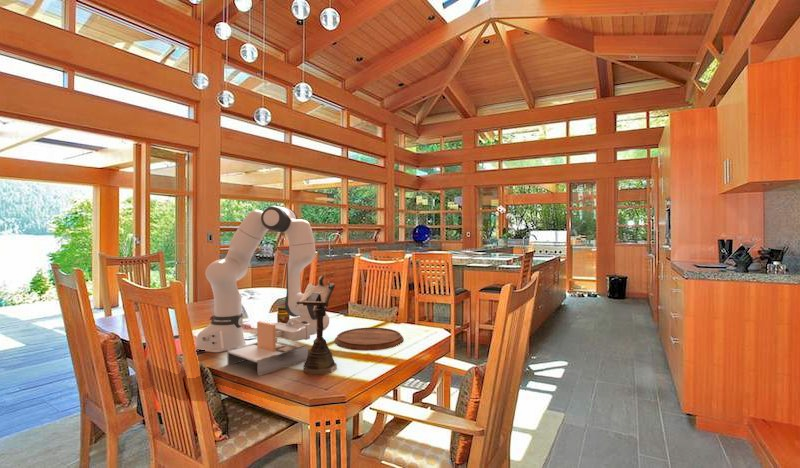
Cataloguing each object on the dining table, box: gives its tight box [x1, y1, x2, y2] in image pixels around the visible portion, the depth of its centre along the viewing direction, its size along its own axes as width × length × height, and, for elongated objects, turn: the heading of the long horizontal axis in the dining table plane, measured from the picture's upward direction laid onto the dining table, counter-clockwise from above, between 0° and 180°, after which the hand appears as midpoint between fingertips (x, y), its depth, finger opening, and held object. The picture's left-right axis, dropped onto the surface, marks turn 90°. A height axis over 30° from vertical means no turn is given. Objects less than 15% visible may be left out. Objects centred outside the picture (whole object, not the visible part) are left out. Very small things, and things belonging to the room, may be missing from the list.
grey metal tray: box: [226, 337, 309, 377], centre depth 156 cm, size 22×21×6 cm
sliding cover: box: [228, 320, 281, 363], centre depth 152 cm, size 11×18×11 cm, turn 53°
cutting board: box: [334, 327, 404, 351], centre depth 187 cm, size 32×32×3 cm
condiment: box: [276, 305, 291, 324], centre depth 206 cm, size 7×8×12 cm
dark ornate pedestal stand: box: [295, 274, 338, 375], centre depth 146 cm, size 17×13×35 cm
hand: (267, 335), depth 156 cm, fingers closed, pressing on sliding cover
